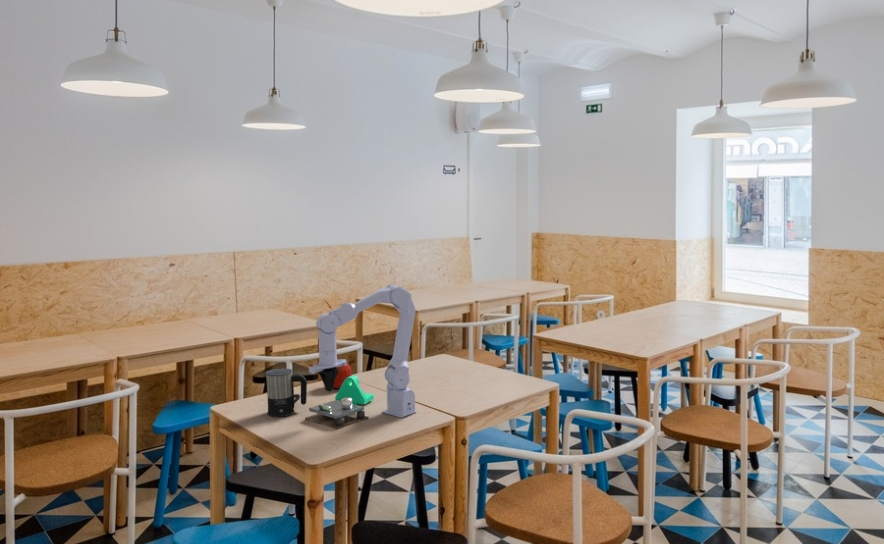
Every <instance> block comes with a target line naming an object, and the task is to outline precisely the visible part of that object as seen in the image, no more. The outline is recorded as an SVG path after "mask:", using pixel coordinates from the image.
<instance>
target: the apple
mask: <svg viewBox="0 0 884 544" xmlns="http://www.w3.org/2000/svg"><path fill="white" fill-rule="evenodd" d="M337 360H340V359H338V358H337ZM336 369H339V373H338V374H337V376H336V379H335V382H334V386H333V389H338V390H339V389H340V387H341V386H342V384H343V382H344V380H345V379H346V378H348V377H350V376H352V375H353V373H352V368H351V365H350V364H349V362H347V365H346V366H340V367H336Z"/></svg>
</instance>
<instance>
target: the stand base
mask: <svg viewBox="0 0 884 544" xmlns="http://www.w3.org/2000/svg"><path fill="white" fill-rule="evenodd" d="M368 419H369V416H368V415H366V413H365V410H362V411H359V412H356V413H353V414H350V415H347V416H344V417H341V418H338V419H335V418H332V417H328V416H325V415H321V414H318V413H315V414H312V415H308V416H306V417H305V418H304V420H306V421H309V422H312V423H315V424H318V425H321V426H325V427H327V428H331V429H334V430H338V429H341V428H344V427H347V426H350V425H354V424H357V423H359V421H360V422H362V421H365V420H368ZM356 422H357V423H356ZM353 423H354V424H353Z"/></svg>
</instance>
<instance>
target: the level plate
mask: <svg viewBox="0 0 884 544" xmlns="http://www.w3.org/2000/svg"><path fill="white" fill-rule="evenodd" d="M308 411H309V412H311V413H315V414H321V415H325V416H328V417H332V418H335V419H338V418H341V417H344V416H347V415H350V414H353V413H357V412H359V411H365V407H364V406H362V405H359V404H358V405H354V404H352V398H349V397H347V398H342V399H341V401H339V400H335V399H334V400H332V401H328V402H325V403H322V404H318V405H314V406H312V407H308Z"/></svg>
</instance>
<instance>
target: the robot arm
mask: <svg viewBox="0 0 884 544" xmlns="http://www.w3.org/2000/svg"><path fill="white" fill-rule="evenodd" d="M382 303H383V304H391V305H392V306H394V308H395V309H396V310H397V312H398V313H399V315H398V323H397V328H396V334H395V340H394V347H393V353H392V357H391V359H390V360H389V362H388V366H387V368H386V369H385V371H384V378H385V380H386V381H387V384H386V409H383V410H381V413H383V414H385V415H386V414H387V415H391V416H394V417H397V418H405V417H406V416H410V415H412V414H415V413H417V412H418V411H417V410H416V401H415V400H416V396H415V392H414V391H413V390H412V389H410V388H409V384H410V381H411V378H410V374H409V370H410V366H409V362H408V359H409V358H408V357H409V353H410V346H411V341H412V335H413V330H414V329H413V328H414V323H415V317H416V312H417V311H416V307H415V304H414V302H413V298H412V293H410V291H408V289H406V288H405V287H403V286H399V285H397V284H396V283H395V284H393V283H391V284H388V285H387V286H384V287H381V288H378V290H376V291H374V292H372V293H370V294H369V295H367V296H365V297H363V298H361V299H360V300H358V301H357V302H354V303H351V302H342V303H341V305H340V306H339V307H336V308H335V309H329V310H328V313H326V312H325V313H322V314H320V315H319V316H318V318H317V320H316V322H315V324H316V327H317V328H318V361H319V362H318V363H316V364H315V365H312V366H311V365H310V366H309V367H308V373H309V374H312V375H314V374H316V373H318V375H319V377H320V378H321V380H322V381H321V382H322V383H323V386H324V390H325V391H326V392H332V391H333V390H334V388H333V386H334V382H335V379H336V376H337V374H338V373H339V369H336V367H340V366H346V365H347V363H348V361H347V359H345V358H342V359H339V360H338V356H337V355H338V354H337V353H338V352H337V351H338V350H337V335H336V334H337V332H336V331H337V329H338V327H341V326H343V325H345V324H347V323H349V322H350V321H353V320H355V319H356V318H357V316H358V314H359V313H361V312H362V311H364V310H367V309H368V308H369V309H370V308H371V307H373V306H375V305H377V304H382Z"/></svg>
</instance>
